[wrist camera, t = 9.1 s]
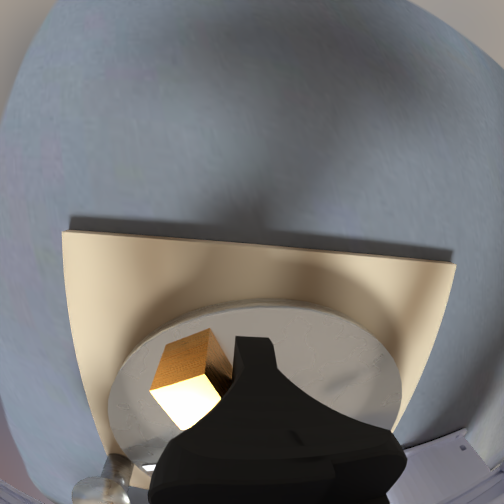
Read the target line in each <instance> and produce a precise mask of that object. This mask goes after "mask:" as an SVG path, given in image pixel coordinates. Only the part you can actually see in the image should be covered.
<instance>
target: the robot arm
mask: <svg viewBox="0 0 504 504" xmlns="http://www.w3.org/2000/svg"><path fill="white" fill-rule="evenodd" d="M466 432H467V429H466V428H464V429H461V430H459V431H457V432H454V433H452V434H449V435H447V436H444V437H441V438H439V439H436V440H433V441H430V442H428V443H425V444H422V445H419V446H415V447H412V448H409V449H406V450H403V449H402V447H401V446H400V444H399V442H398V441H397V439H396V438H395V436H394V435H393V433H392V432H391V431H390V430H388V429H384V428H381V427H377V426H374V425H370V424H367V423H364V422H361V421H358V420H356V419H353V418H351V417H348V416H346V415H344V414H341V413H339V412H337V411H335V410H333V409H331V408H329V407H328V406H326V405H324V404H322V403H321V402H319V401H317V400H316V399H314V398H313V397H311V396H309V395H308V394H307V393H305V392H304V391H303V390H301V389H300V388H299V387H297V386H296V385H295V384H294V383H292V382H291V381H290V380H289V379H288V378H287V377H286V376H285V375H284V374H283V373H282V372H281V371H280V370H279V369H278V368H277V362H276V356H275V350H274V345H273V343H272V341H271V340H270V339H269V338H268V337H247V336H235V346H234V358H233V370H232V385H231V387H230V388H229V389H228V391H227V392H226V393H225V395H224V396H223V397H222V398H221V399H220V400H219V402H218V403H217V404H216V405H215V406H214V407H213V408H212V409H211V410H210V411H209V412H208V413H207V414H205V415H204V416H203V417H202V418H201V419H200V420H199V421H197V422H196V423H195V424H194V425H192V426H191V427H189V428H188V429H186V430H185V431H183V432H182V433H180V434H179V435H177V436H176V437H174V438H172V439H171V440H170V441H169V443H168V444H167V446H166V447H165V449H164V451H163V452H162V454H161V456H160V458H159V460H158V462H157V464H156V466H155V469H154V471H153V474H152V477H151V481H150V486H149V491H148V502H149V504H504V460H503V461H502V463H501V464H500V466H499V467H498V468H496V469H495V470H493V471H492V472H491V471H490V469H489V467H488V466H487V465H486V464H485V462H484V461H483V460H482V458H481V457H480V456H479V455H478V453H477V452H476V451H475V450H474V449H473V447H472V446H471V445H470V444H469V442H468V441H467V440H466V439H465V437H464V435H465V434H466ZM0 504H45V503H42V502H41V501H39V500H37V499H34V498H33V497H31V496H29V495H27V494H25V493H23V492H21V491H19V490H18V489H16V488H14V487H13V486H11V485H9V484H7V483H6V482H4V481H3V480H1V479H0Z"/></svg>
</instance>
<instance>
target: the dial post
mask: <svg viewBox="0 0 504 504" xmlns="http://www.w3.org/2000/svg"><path fill="white" fill-rule="evenodd" d="M133 469H134V463H133V462H132V461H131V460H130V459H129V458H127V457H126V456H124V455H121V454H117V453H110V454H109V455H108V457H107V460H106V462H105V465H104V468H103V471H102V474H101V477H88V478H85V479H83V480H81V481H80V482H78V483H77V484H76V485H75V487H74V489H73V491H72V501H73V504H131V502H130V500H129V498H128V496H127V492H128V488H129V484H130V480H131V476H132V472H133Z"/></svg>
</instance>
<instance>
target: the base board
mask: <svg viewBox="0 0 504 504" xmlns="http://www.w3.org/2000/svg"><path fill="white" fill-rule="evenodd" d="M62 248H63V266H64V278H65V288H66V297H67V305H68V312H69V319H70V325H71V331H72V337H73V342H74V347H75V352H76V357H77V361H78V365H79V370H80V374H81V378H82V382H83V385H84V389H85V393H86V396H87V400H88V403H89V406H90V409H91V412H92V416H93V419H94V422H95V425H96V427H97V430H98V433H99V436H100V438H101V441H102V444H103V446H104V449H105V451H106V454H107V456H108V455H109V454H110V453H117V454H121V455H124V456H126V454H125V453H124V452H123V451H122V449H121V448H120V446H119V444H118V443H117V441H116V439H115V437H114V435H113V432H112V430H111V427H110V423H109V417H108V399H109V394H110V390H111V386H112V384H113V382H114V380H115V378H116V376H117V374H118V372H119V370H120V368H121V366H122V365H123V363H124V361H125V359H126V358H127V357H128V355H129V354H130V353H131V351H132V350H133V349H134V347H135V346H136V345H137V344H138V343H139V342H141V341H142V340H143V339H144V338H145V337H146V336H147V335H148V334H149V333H151V332H153V331H154V330H156V329H157V328H159V327H160V326H161V325H163V324H164V323H166V322H168V321H170V320H172V319H175V318H177V317H179V316H181V315H183V314H185V313H188V312H191V311H194V310H197V309H200V308H203V307H206V306H209V305H214V304H219V303H223V302H228V301H233V300H243V299H254V298H283V299H291V300H298V301H306V302H310V303H314V304H318V305H322V306H325V307H329V308H331V309H333V310H336V311H338V312H341V313H343V314H346V315H347V316H349V317H351V318H352V319H354V320H356V321H357V322H359V323H360V324H362V325H363V326H364V327H365V328H366V329H368V330H369V331H370V332H371V333H372V334H373V335H374V336H375V337H376V338H377V339H378V340H379V341H380V342H381V344H382V345H383V346H384V347H385V348H386V350H387V351H388V352H389V353H390V355H391V356H392V357H393V359H394V361H395V363H396V365H397V368H398V370H399V373H400V377H401V382H402V399H401V406H400V410H399V413H398V416H397V419H396V421H395V423H394V425H393V427H392V429H391V432H392V433H393V432H394V430H395V428H396V426H397V424H398V422H399V421H400V419H401V417H402V415H403V413H404V411H405V409H406V407H407V405H408V403H409V401H410V399H411V397H412V395H413V393H414V390H415V388H416V386H417V384H418V382H419V379H420V377H421V375H422V372H423V370H424V368H425V365H426V363H427V360H428V358H429V355H430V352H431V350H432V347H433V344H434V342H435V339H436V336H437V333H438V330H439V327H440V324H441V321H442V318H443V315H444V311H445V308H446V304H447V301H448V297H449V294H450V290H451V286H452V282H453V278H454V274H455V269H456V264H454V263H451V262H445V261H435V260H425V259H415V258H404V257H394V256H383V255H372V254H362V253H351V252H340V251H328V250H317V249H306V248H294V247H283V246H271V245H259V244H247V243H235V242H223V241H211V240H199V239H186V238H173V237H160V236H147V235H134V234H121V233H107V232H93V231H79V230H66V231H63V232H62ZM126 457H127V456H126ZM127 458H128V457H127ZM150 481H151V477H149V476H148V475H147V474H145V473H144V472H143V471H142V470H140V469H139V468H138V467H137V466H136V465H135V464H134V469H133V472H132V476H131V480H130V484H129V486H133V487H138V488H143V489H148V490H149V486H150Z"/></svg>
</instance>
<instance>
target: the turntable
mask: <svg viewBox="0 0 504 504" xmlns="http://www.w3.org/2000/svg"><path fill="white" fill-rule="evenodd" d="M235 336H247V337H268V338H269V339H270V340H271V341H272V343H273V345H274V350H275V356H276V362H277V368H278V369H279V370H280V371H281V372H282V373H283V374H284V375H285V376H286V377H287V378H288V379H289V380H290V381H291V382H292V383H294V384H295V385H296V386H297V387H299V388H300V389H301V390H303V391H304V392H305V393H307V394H308V395H309V396H311V397H313V398H314V399H316V400H317V401H319V402H321V403H322V404H324V405H326V406H328V407H329V408H331V409H333V410H335V411H337V412H339V413H341V414H344V415H346V416H348V417H351V418H353V419H356V420H358V421H361V422H364V423H367V424H370V425H374V426H377V427H381V428H384V429H388V430H390V431H391V429H392V427H393V425H394V423H395V421H396V419H397V416H398V413H399V410H400V406H401V399H402V382H401V377H400V373H399V370H398V368H397V365H396V363H395V361H394V359H393V357H392V356H391V355H390V353H389V352H388V351H387V350H386V348H385V347H384V346H383V345H382V344H381V342H380V341H379V340H378V339H377V338H376V337H375V336H374V335H373V334H372V333H371V332H370V331H369V330H368V329H366V328H365V327H364V326H363V325H362V324H360V323H359V322H357V321H356V320H354V319H352V318H351V317H349V316H347V315H346V314H343V313H341V312H338V311H336V310H333V309H331V308H329V307H325V306H322V305H318V304H314V303H310V302H306V301H298V300H291V299H283V298H254V299H243V300H233V301H228V302H223V303H219V304H214V305H209V306H206V307H203V308H200V309H197V310H194V311H191V312H188V313H185V314H183V315H181V316H179V317H177V318H175V319H172V320H170V321H168V322H166V323H164V324H163V325H161V326H160V327H159V328H157V329H156V330H154V331H153V332H151V333H149V334H148V335H147V336H146V337H145V338H144V339H143V340H142V341H141V342H139V343H138V344H137V345H136V346H135V347H134V349H133V350H132V351H131V353H130V354H129V355H128V357H127V358H126V359H125V361H124V363H123V365H122V366H121V368H120V370H119V372H118V374H117V376H116V378H115V380H114V382H113V384H112V386H111V390H110V394H109V399H108V417H109V423H110V427H111V430H112V432H113V435H114V437H115V439H116V441H117V443H118V444H119V446H120V448H121V449H122V451H123V452H124V453H125V454H126V456H127V457H128V458H129V459H130V460H131V461H132V462H133V463H134V464H135V465H136V466H137V467H138V468H139V469H140V470H142V471H143V472H144V473H145V474H147V475H148V476H149V477H152V474H153V471H154V469H155V466H156V464H157V462H158V460H159V458H160V456H161V454H162V452H163V451H164V449H165V447H166V446H167V444H168V443H169V441H170V440H171V439H172V438H174V437H176V436H177V435H179V434H180V433H182V432H183V431H185V430H186V429H188V428H189V427H191V426H192V425H194V424H195V423H196V422H197V421H199V420H200V419H201V418H202V417H203V416H204V415H205V414H207V413H208V412H209V411H210V410H211V409H212V408H213V407H214V406H215V405H216V404H217V403H218V402H219V400H220V399H221V398H222V397H223V396H224V395H225V393H226V392H227V391H228V389H229V388H230V387H231V385H232V370H233V358H234V346H235Z"/></svg>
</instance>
